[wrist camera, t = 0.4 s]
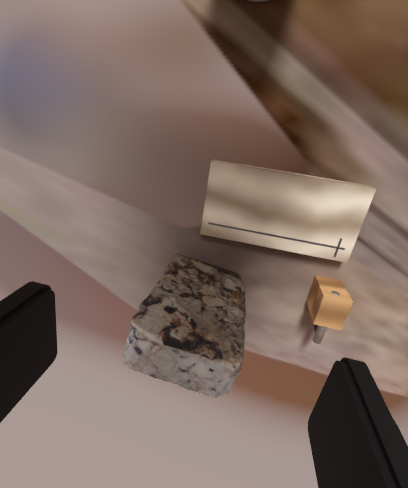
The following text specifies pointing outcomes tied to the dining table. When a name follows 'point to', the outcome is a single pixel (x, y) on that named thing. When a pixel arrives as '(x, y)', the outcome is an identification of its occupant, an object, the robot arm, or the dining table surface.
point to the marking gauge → (328, 305)
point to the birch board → (284, 210)
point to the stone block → (190, 328)
